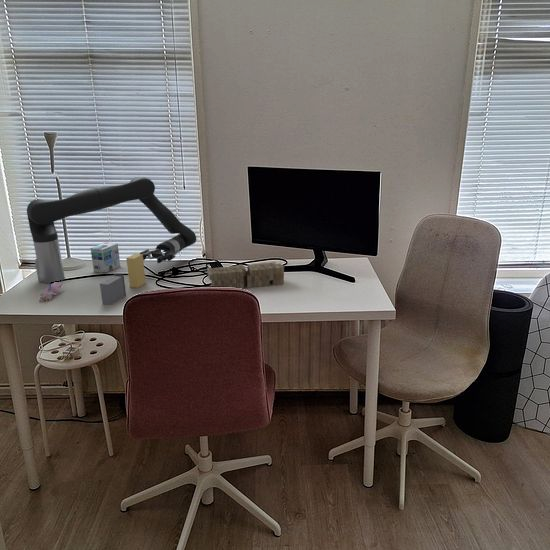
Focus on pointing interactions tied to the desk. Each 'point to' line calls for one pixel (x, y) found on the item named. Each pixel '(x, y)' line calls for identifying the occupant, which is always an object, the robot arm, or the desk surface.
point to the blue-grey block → (113, 289)
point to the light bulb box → (105, 257)
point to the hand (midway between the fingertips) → (148, 260)
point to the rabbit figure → (51, 291)
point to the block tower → (247, 275)
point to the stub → (136, 270)
